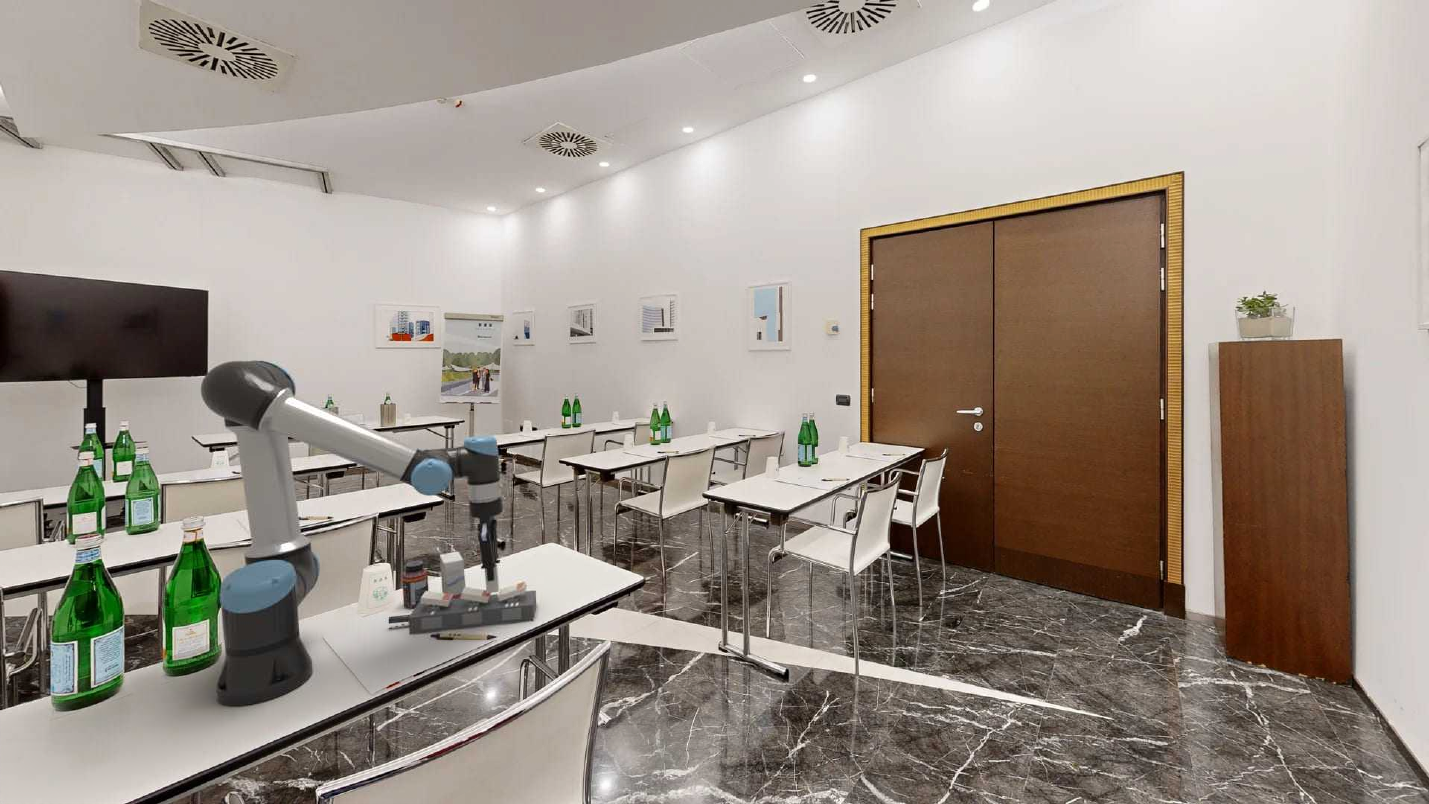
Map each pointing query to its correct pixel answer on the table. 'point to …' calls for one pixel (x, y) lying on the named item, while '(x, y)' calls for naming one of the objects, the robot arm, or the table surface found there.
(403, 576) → the supplement bottle
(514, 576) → the table surface
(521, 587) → the rocker
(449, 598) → the rocker
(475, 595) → the rocker
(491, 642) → the table surface
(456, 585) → the ink box
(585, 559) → the table surface
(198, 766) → the table surface
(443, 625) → the rocker switch strip
